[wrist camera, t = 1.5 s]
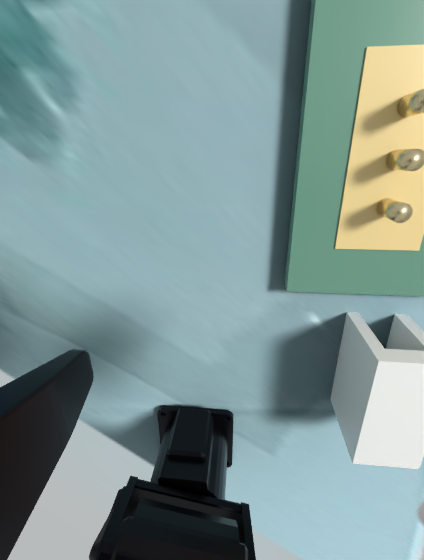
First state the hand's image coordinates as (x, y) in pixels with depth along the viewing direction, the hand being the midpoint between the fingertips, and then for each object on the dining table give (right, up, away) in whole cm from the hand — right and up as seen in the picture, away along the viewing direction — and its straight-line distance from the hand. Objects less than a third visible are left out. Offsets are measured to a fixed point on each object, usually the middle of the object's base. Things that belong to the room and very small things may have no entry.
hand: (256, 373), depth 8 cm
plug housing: (+10, -4, +15) cm, 18 cm away
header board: (+9, +9, +9) cm, 16 cm away
